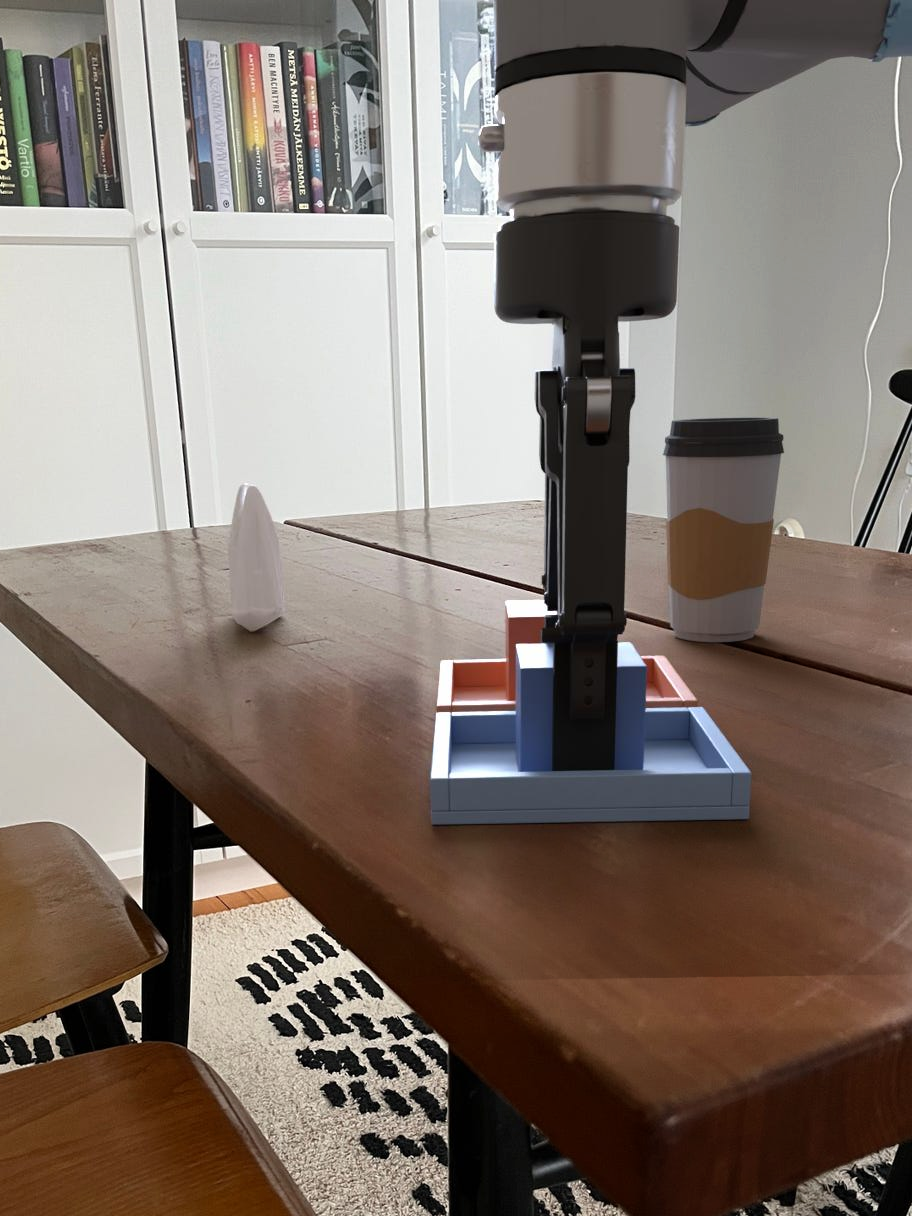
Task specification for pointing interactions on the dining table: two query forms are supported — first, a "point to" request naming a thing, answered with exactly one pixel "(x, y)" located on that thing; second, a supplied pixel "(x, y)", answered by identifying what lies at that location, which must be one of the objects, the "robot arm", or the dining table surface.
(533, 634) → the terracotta block
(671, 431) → the coffee cup
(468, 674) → the terracotta tray
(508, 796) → the blue tray
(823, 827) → the dining table surface
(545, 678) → the blue block
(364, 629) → the dining table surface
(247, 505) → the white pointed piece
